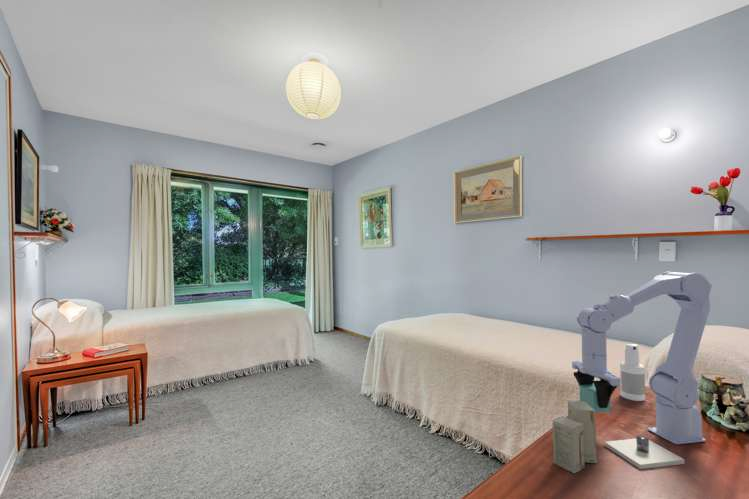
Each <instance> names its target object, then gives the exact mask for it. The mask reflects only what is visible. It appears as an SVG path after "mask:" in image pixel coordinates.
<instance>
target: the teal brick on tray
mask: <svg viewBox="0 0 749 499" xmlns="http://www.w3.org/2000/svg"><path fill="white" fill-rule="evenodd" d="M579 401H585V402H587V403H588V404H589V405H590V406H591V407H592V408H593V409H594V410H595V414H598V413H610V412H611V399H610V400H609V403H608V407H607V408H599V406H598V400H597V392H596V388H595V386H594V383H593V384H591V385H580V386H579Z"/></svg>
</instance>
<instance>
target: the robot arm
mask: <svg viewBox="0 0 749 499" xmlns="http://www.w3.org/2000/svg"><path fill="white" fill-rule="evenodd" d="M711 290H712V284H711V283H710V281H709V280H708V279H707V278H706V277H705V275H703V274H701V273H700V272H699V273H698V272H691V273H689V272H677V271H671V270H669V271H665V272H662V273H661V274H658V275H655V276H654V278H653V279H651V280H649V281H648V282H646V283H644V284H643V285H641V286H639V287H638V288H635V289H634V290H633V291H631V292H629V293H627V294H626V295H622V294H611V295H609V296H608V299H606V300H605V301H602V302H600V303H595V304H594V305H593V307H586V308H583V309H582V310H581V311H580V312H579V313H578V316H577V317H576V322H577V323H578V325H579V326H580V328H581V361H579V360H576V361H573V360H572V361H571V365H572V366H571V368H572V369H574V370H577V371H574V372H573V376H574V378H575V379H576V381H577V382H576V383H577V384H578V386H579V387H580V385H591V384H594V386H595V388H596V392H597V400H598V406H599V408H607V407H608V403H609V400H610V401H611V397H612V395H613V393H614V392H615V390H616V389H617V387H618V386H620V376H616V374H615V375H614V373H611V372H610V371H609V370H608V367H607V366H608V364H607V363H608V359H607V358H608V357H607V356H608V354H607V331H608V330H610V329H611V326H612V324H613V323H615V322H617V321H619V320H621V319H623V318H625V317H627V316H629V315H631V314H633V312H634V310H635V307H636V306H638V305H641V304H643V303H646V302H648V301H650V300H652V299H655V298H657V297H659V296H661V295H667V296H668V297H669V298H671V299H672V300H674V301H675V302H676V304H677V305H678V306H679V307H680V312H679V315H678V319H677V322H676V325H675V329H674V331H673V336H672V339H671V341H670V345H669V346H670V347H669V349H668V353H667V356H666V359H665V362H664V363H662V364H660V365H657V366H656V368H655V372H654V373H653V374H652V375H651V376H650V377H649V381H648V385H649V386H648V387H649V389H650V390H651V391H652V392H653V393H654V395H653V396H654V398H655V424H656V425H655V426H654V427H647V430H648V431H650V432H651V433H653V434H655V435H657V436H659V437H661V438H663V439H665V440H666V441H669V442H670V443H673V445H682V444H683V445H684V444H694V443H701V442H702V443H704V442H707V439H706V438H704V437H703V416H702V413H701V411H700V409H699V408H698V406H697V405H696V404H698V401H699V397H700V396H699V390H698V388H699V385H700V382H699V381H698V379H697V377H696V376H695V374H694V373H693V368H694V365H695V361H696V358H697V354H698V351H699V348H700V345H701V342H702V337H703V334H704V330H705V327H706V323H707V321H708V318H709V313H710V311H711V302H710V293H711ZM595 378H597V379H598V380H595Z"/></svg>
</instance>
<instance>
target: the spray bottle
mask: <svg viewBox="0 0 749 499" xmlns="http://www.w3.org/2000/svg"><path fill="white" fill-rule="evenodd" d="M645 372H646V368H645V365H644V364H642V363H640V351H639V345H638V344H636V343H631V344H629V343H625V349H624V360H623V361H620V363H619V378H620V387H619V388H620V396H621V397H622V398H624V399H627V400H629V401H632V402H633V401H634V402H644V401H645V400H646V379H645V378H646V376H645V374H646V373H645Z"/></svg>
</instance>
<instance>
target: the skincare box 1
mask: <svg viewBox="0 0 749 499" xmlns="http://www.w3.org/2000/svg"><path fill="white" fill-rule="evenodd" d="M552 440H553V442H552V443H553V444H552V445H553V464H554V465H556V466H559V467H561V468H562V469H565V470H566V471H569V472H570V473H573V474H576V473H578V472H581V471H583V470H584V469H585V468H586V464H585V463H586V462H585V461H584V433H583V424H582V423H579V422H577V421H574V420H572V419H569V418H568V417H566V416H561V417H557V418H554V419H552Z"/></svg>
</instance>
